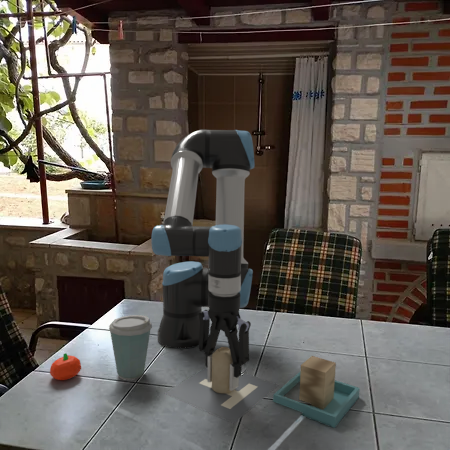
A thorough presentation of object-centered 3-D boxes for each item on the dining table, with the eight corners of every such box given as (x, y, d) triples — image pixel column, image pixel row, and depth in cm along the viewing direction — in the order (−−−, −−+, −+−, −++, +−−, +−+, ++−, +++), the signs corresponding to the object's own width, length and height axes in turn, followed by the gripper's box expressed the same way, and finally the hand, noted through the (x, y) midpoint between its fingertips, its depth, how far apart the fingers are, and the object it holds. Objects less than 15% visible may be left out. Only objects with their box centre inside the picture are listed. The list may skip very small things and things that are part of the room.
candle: (232, 395, 110) (233, 355, 108) (209, 392, 111) (209, 353, 109) (236, 383, 115) (237, 345, 113) (214, 380, 116) (215, 343, 114)
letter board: (163, 396, 110) (163, 393, 110) (214, 364, 126) (214, 361, 126) (233, 426, 99) (233, 423, 99) (279, 387, 115) (279, 384, 115)
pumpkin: (44, 384, 116) (40, 359, 116) (67, 370, 124) (63, 346, 123) (67, 386, 113) (63, 361, 113) (88, 372, 121) (85, 348, 120)
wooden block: (299, 401, 109) (300, 365, 107) (310, 390, 113) (312, 355, 112) (323, 409, 105) (325, 372, 104) (333, 398, 110) (335, 362, 108)
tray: (273, 404, 108) (273, 394, 107) (301, 378, 120) (302, 369, 119) (334, 428, 99) (335, 417, 99) (359, 397, 111) (359, 387, 111)
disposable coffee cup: (101, 380, 118) (99, 323, 115) (124, 361, 127) (123, 309, 125) (138, 388, 114) (137, 330, 111) (159, 368, 124) (159, 314, 121)
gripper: (182, 288, 111) (182, 378, 115) (249, 304, 100) (247, 403, 104) (202, 280, 117) (201, 366, 121) (267, 295, 106) (264, 389, 110)
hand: (222, 383), depth 112 cm, fingers open, 6 cm apart
